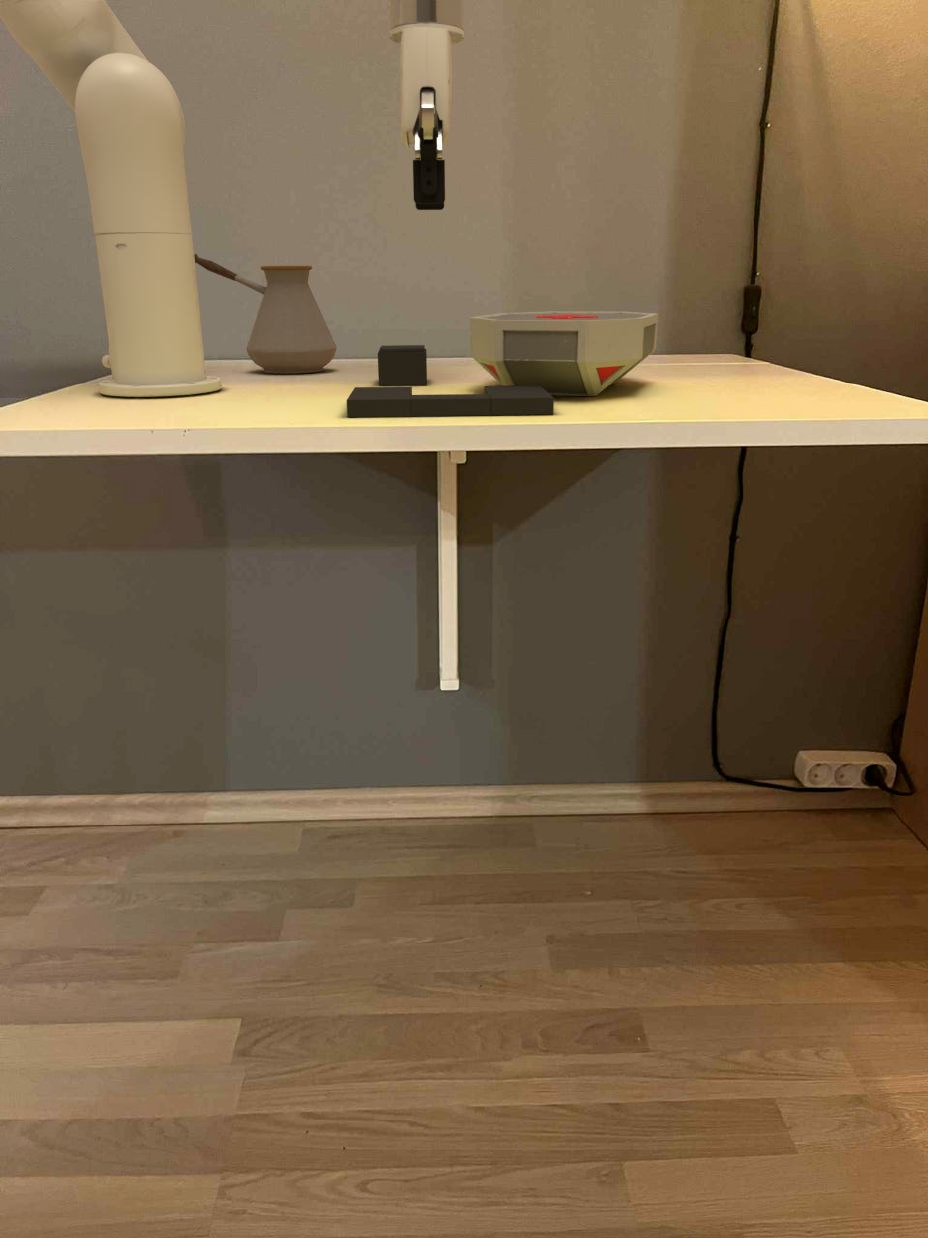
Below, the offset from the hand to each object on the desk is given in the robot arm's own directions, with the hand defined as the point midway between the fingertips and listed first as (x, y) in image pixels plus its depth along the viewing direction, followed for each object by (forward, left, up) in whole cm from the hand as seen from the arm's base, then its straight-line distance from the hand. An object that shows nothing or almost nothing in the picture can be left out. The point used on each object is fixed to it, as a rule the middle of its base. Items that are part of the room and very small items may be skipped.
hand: (429, 206), depth 102 cm
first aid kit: (+15, +5, -19) cm, 24 cm away
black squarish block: (-3, -1, -18) cm, 19 cm away
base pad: (+16, -15, -18) cm, 29 cm away
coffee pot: (-29, -1, -19) cm, 35 cm away
